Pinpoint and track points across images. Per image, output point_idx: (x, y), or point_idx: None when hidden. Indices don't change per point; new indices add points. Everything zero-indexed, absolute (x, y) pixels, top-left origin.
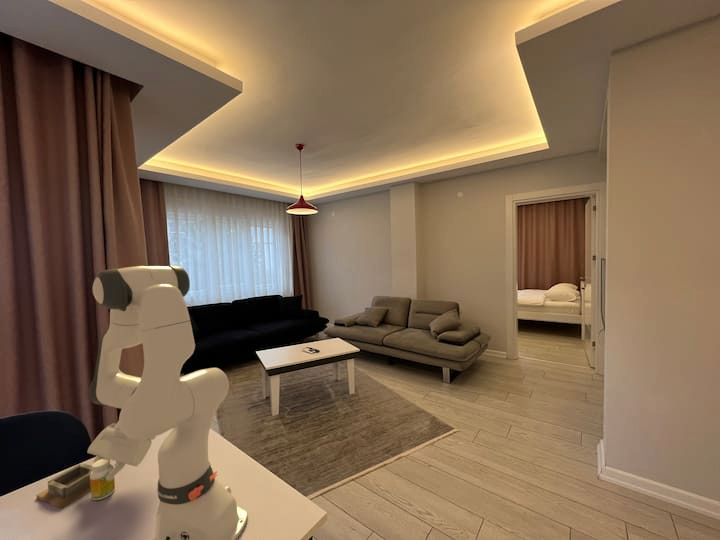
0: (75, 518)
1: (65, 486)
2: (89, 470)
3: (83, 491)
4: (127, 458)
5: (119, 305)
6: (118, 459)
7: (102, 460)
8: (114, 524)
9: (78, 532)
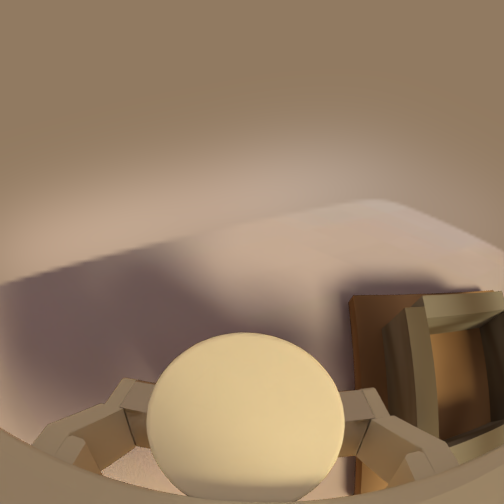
0: (221, 287)
1: (427, 313)
2: (460, 441)
3: (361, 384)
4: None
5: None
6: (13, 447)
7: (271, 459)
8: (49, 299)
9: (139, 250)
